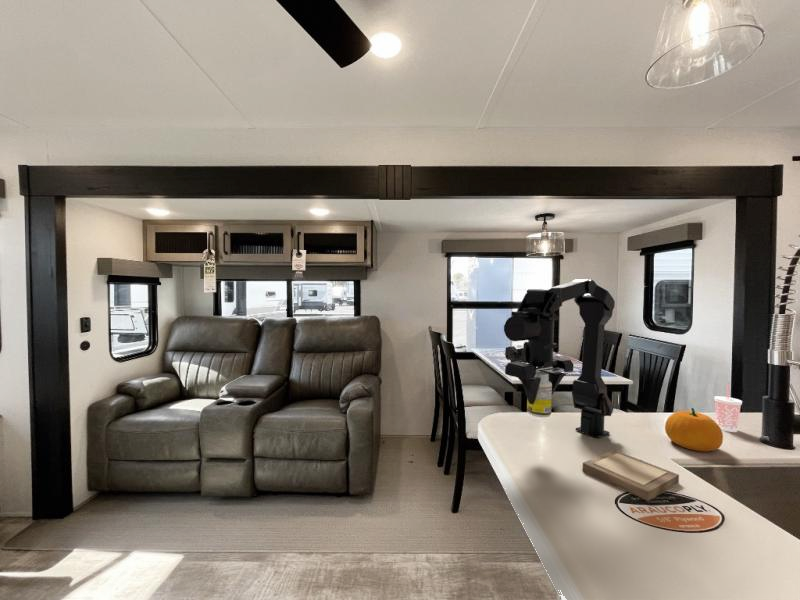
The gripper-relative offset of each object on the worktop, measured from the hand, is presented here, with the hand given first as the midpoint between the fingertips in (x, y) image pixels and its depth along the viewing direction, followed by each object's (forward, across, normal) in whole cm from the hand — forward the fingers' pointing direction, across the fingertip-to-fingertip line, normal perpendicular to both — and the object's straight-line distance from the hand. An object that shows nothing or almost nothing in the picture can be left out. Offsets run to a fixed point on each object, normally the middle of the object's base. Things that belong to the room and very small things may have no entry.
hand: (539, 402), depth 85 cm
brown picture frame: (+13, -8, +17) cm, 23 cm away
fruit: (+13, -40, +17) cm, 45 cm away
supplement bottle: (+3, 0, 0) cm, 3 cm away
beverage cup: (+13, -64, +17) cm, 68 cm away
